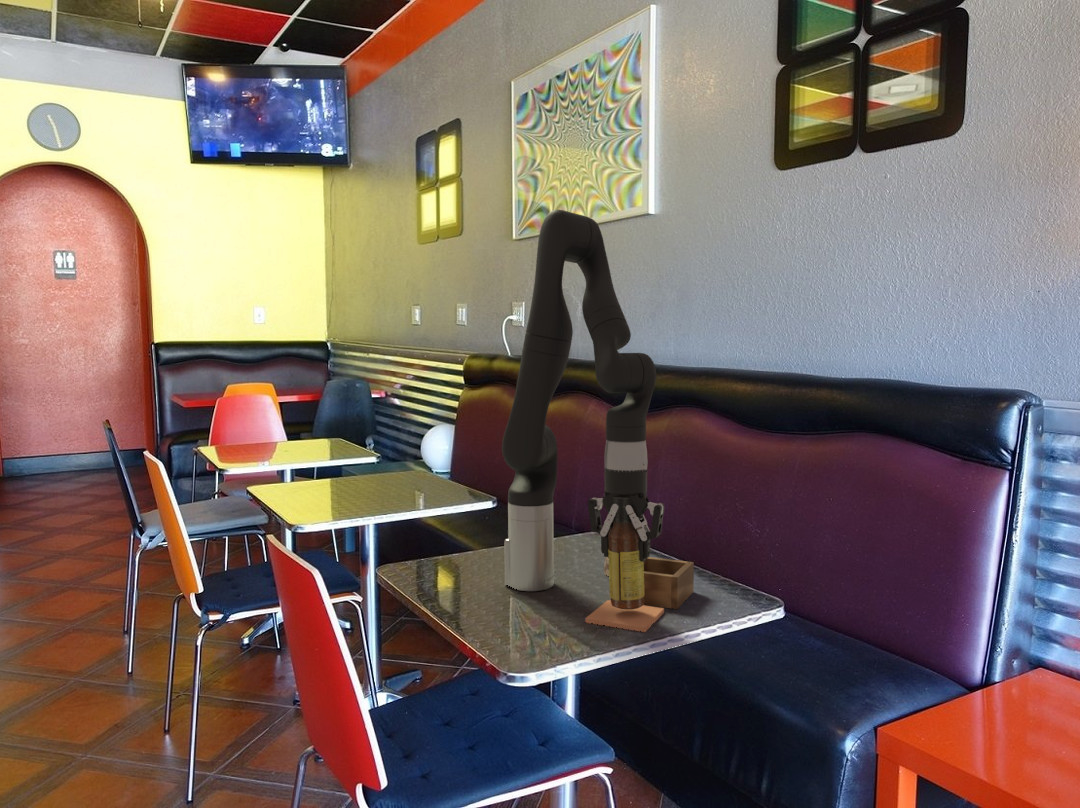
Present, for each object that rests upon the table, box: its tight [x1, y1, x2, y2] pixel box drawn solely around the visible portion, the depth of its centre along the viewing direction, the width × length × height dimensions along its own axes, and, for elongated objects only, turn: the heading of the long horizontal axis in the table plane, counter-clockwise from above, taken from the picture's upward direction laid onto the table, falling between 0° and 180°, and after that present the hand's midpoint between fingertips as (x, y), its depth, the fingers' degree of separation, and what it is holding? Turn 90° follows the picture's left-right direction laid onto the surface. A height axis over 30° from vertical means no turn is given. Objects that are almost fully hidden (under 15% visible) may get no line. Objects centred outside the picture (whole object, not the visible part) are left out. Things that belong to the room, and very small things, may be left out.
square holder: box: [643, 556, 695, 610], centre depth 152 cm, size 10×11×6 cm
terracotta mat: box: [584, 599, 665, 633], centre depth 141 cm, size 11×11×1 cm
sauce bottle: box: [608, 497, 645, 610], centre depth 140 cm, size 7×6×20 cm
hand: (625, 557), depth 140 cm, fingers closed on sauce bottle, 6 cm apart
